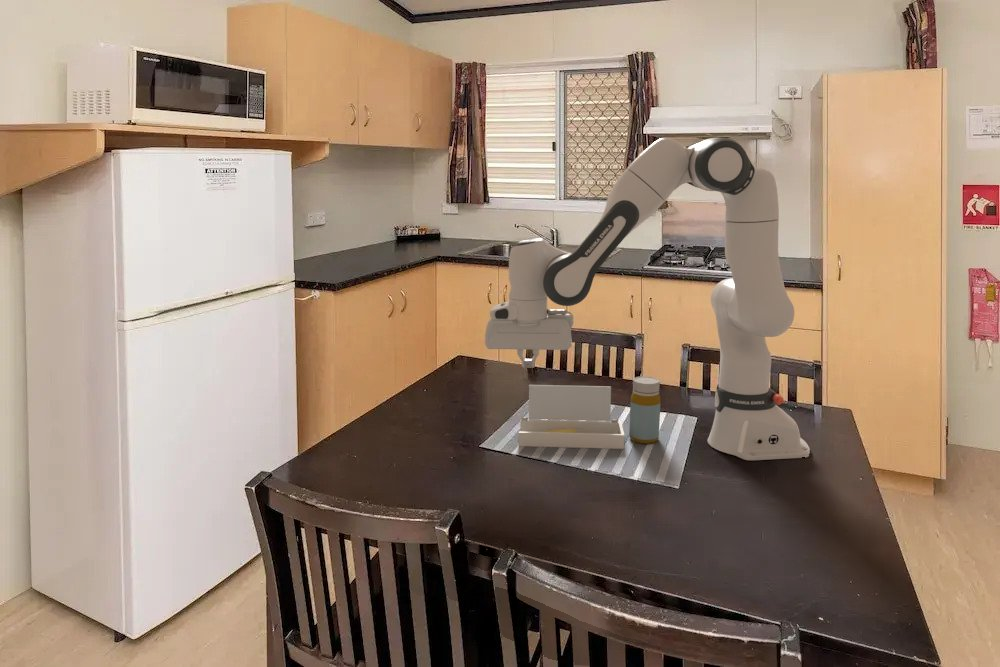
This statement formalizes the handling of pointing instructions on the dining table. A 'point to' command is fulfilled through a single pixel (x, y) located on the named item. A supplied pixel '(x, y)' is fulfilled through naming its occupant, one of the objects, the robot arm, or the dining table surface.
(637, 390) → the bottle
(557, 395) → the cover
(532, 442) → the white long shallow tray
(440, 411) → the dining table surface
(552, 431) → the yellow cylinder
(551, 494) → the dining table surface
